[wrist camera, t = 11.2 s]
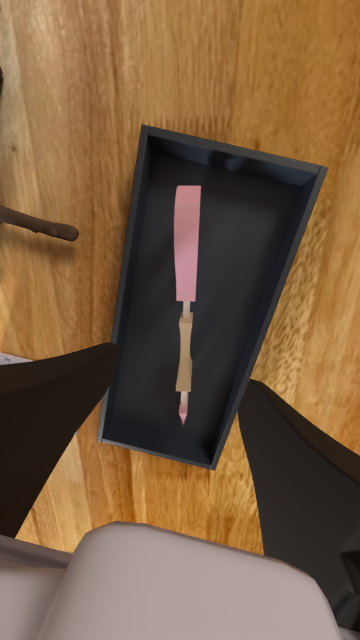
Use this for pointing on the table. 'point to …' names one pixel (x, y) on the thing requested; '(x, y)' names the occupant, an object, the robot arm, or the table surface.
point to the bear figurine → (37, 221)
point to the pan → (200, 289)
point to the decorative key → (186, 278)
